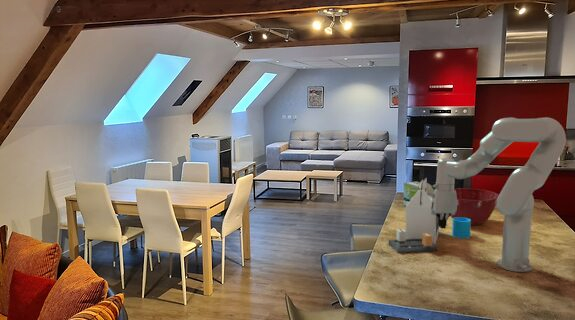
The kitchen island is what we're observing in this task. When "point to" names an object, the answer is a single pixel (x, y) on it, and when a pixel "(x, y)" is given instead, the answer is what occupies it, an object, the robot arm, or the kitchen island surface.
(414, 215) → the gable box
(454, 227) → the mug
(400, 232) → the fader ivory
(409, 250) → the console
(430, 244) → the fader orange
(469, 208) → the mixing bowl
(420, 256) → the kitchen island surface
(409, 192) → the tea box
